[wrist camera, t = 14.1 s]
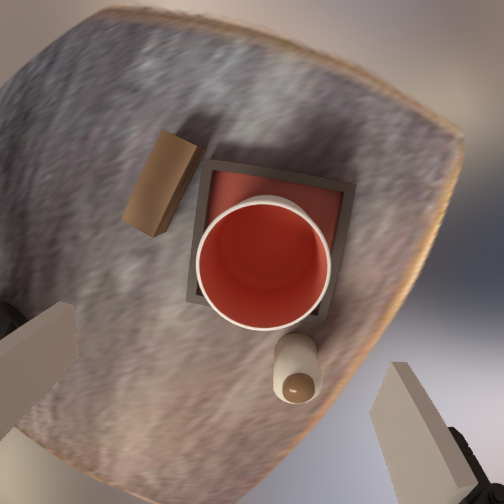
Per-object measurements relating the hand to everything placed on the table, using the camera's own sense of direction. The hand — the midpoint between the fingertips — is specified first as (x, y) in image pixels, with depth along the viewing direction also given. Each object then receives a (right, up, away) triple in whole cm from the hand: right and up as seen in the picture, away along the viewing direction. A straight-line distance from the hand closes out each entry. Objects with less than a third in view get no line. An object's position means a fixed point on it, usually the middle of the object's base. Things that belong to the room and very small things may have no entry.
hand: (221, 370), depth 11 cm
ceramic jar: (+6, -7, +25) cm, 26 cm away
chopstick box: (-8, +12, +22) cm, 26 cm away
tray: (+3, +6, +22) cm, 23 cm away
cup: (+3, +5, +21) cm, 22 cm away
